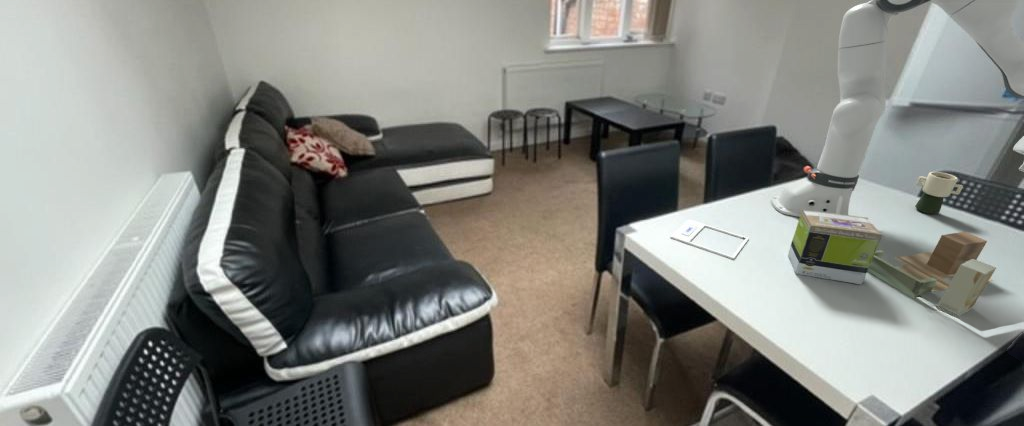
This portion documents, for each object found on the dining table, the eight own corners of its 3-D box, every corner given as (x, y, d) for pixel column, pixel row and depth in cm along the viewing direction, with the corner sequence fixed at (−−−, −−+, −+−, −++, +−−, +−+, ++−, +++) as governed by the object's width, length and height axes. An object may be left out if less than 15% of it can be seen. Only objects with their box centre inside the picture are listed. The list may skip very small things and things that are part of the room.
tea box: (848, 265, 118) (869, 216, 112) (861, 286, 110) (884, 235, 103) (786, 255, 123) (802, 207, 116) (793, 274, 114) (812, 224, 107)
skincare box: (958, 319, 99) (985, 274, 93) (934, 308, 102) (959, 264, 97) (971, 311, 102) (998, 267, 96) (947, 300, 105) (972, 257, 99)
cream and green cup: (948, 213, 147) (967, 177, 141) (945, 220, 142) (964, 183, 137) (907, 203, 154) (923, 168, 148) (903, 209, 150) (920, 173, 144)
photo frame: (688, 218, 140) (749, 237, 130) (688, 221, 141) (748, 240, 130) (670, 235, 130) (734, 257, 120) (669, 238, 131) (733, 260, 120)
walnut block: (948, 260, 119) (964, 231, 115) (970, 270, 115) (987, 241, 111) (926, 264, 117) (941, 235, 113) (947, 274, 113) (963, 244, 109)
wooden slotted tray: (932, 254, 123) (939, 240, 121) (991, 283, 111) (1000, 268, 109) (859, 266, 118) (865, 252, 116) (913, 298, 106) (921, 282, 104)
